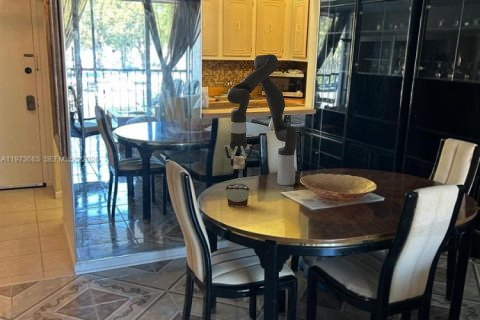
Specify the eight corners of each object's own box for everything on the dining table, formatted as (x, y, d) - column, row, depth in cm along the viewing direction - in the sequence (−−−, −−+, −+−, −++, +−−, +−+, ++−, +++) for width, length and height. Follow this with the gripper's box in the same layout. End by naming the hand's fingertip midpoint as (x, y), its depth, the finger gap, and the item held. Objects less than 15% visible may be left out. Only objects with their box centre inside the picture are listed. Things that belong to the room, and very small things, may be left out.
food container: (251, 202, 220) (251, 183, 218) (250, 206, 214) (250, 187, 212) (226, 201, 221) (226, 182, 219) (224, 205, 215) (224, 186, 213)
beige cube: (242, 166, 216) (242, 156, 215) (244, 168, 212) (244, 158, 210) (232, 166, 215) (232, 156, 214) (234, 169, 211) (234, 158, 209)
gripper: (251, 129, 214) (251, 163, 218) (222, 130, 212) (222, 165, 216) (255, 132, 207) (254, 167, 211) (224, 133, 205) (224, 168, 209)
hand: (238, 166), depth 213 cm, fingers closed on beige cube, 5 cm apart
